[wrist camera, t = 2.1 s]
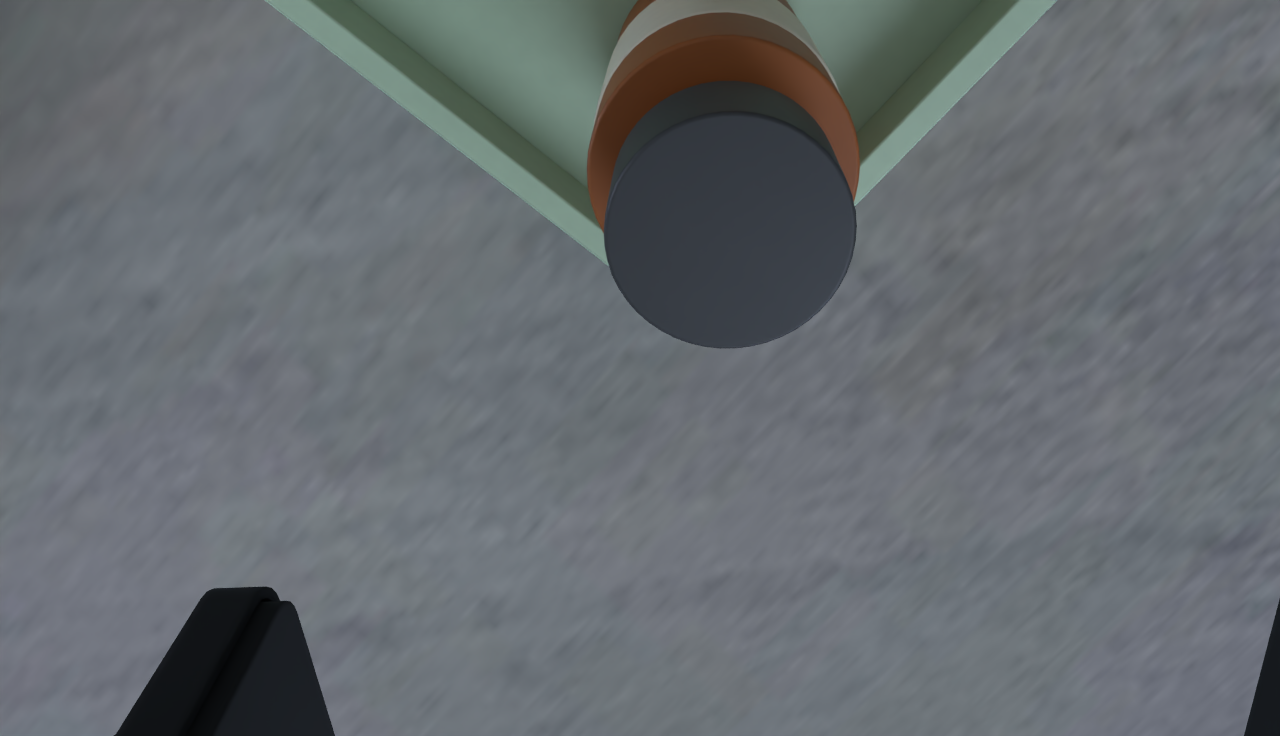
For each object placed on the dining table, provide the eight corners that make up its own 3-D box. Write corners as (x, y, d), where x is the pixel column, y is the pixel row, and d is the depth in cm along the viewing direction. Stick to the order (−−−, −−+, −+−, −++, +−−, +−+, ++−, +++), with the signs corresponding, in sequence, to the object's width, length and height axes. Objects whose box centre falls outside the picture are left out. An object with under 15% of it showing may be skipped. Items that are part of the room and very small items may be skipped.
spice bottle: (573, 77, 27) (502, 254, 16) (700, -84, 25) (715, -4, 14) (718, 197, 28) (740, 433, 17) (849, 53, 26) (964, 219, 15)
